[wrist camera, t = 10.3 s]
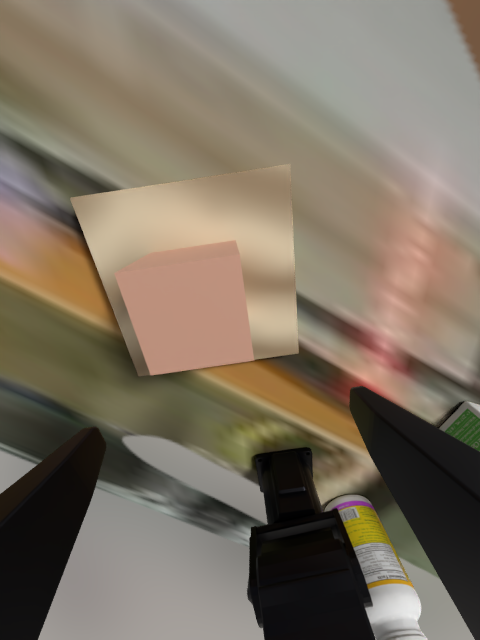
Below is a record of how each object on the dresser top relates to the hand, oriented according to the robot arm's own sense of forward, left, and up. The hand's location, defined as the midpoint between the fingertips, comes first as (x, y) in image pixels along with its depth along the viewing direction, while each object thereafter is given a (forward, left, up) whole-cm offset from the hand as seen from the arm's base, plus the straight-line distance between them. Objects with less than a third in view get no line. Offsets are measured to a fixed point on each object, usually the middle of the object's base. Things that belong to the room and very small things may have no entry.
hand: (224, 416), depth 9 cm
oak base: (+2, +2, -13) cm, 13 cm away
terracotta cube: (+2, +2, -11) cm, 11 cm away
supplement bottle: (-32, -11, -13) cm, 37 cm away
